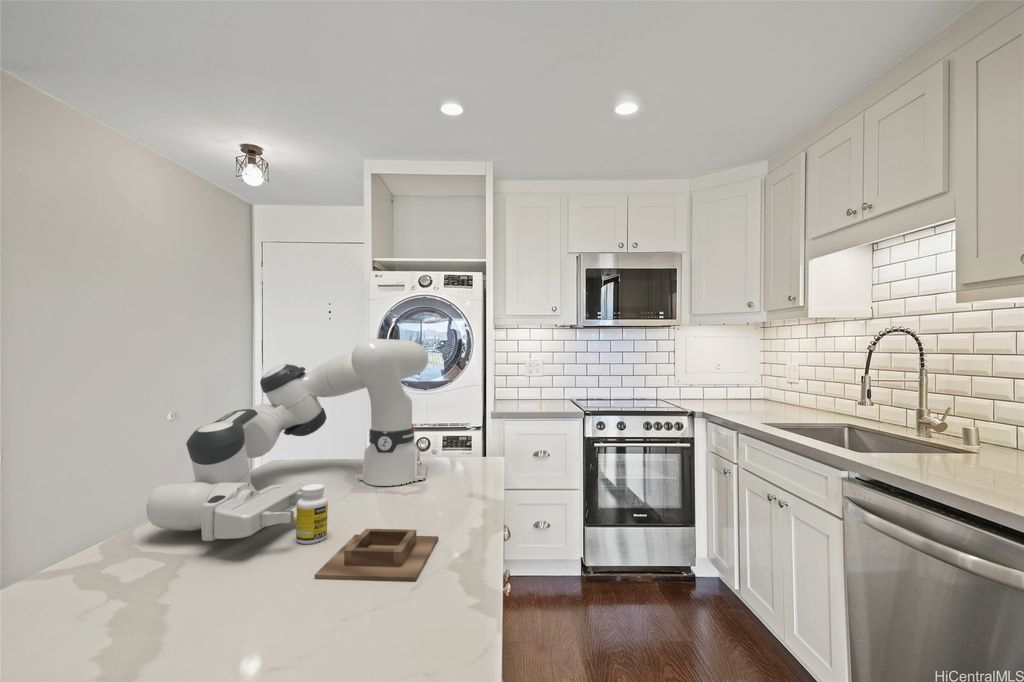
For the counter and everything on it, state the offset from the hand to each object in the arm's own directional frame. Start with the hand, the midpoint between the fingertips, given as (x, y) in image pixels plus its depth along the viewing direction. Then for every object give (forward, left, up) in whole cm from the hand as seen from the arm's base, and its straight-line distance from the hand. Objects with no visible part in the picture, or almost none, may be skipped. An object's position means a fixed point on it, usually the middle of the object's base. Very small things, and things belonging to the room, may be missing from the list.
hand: (305, 508), depth 88 cm
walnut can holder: (+7, +17, -6) cm, 19 cm away
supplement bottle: (0, +1, -6) cm, 6 cm away
